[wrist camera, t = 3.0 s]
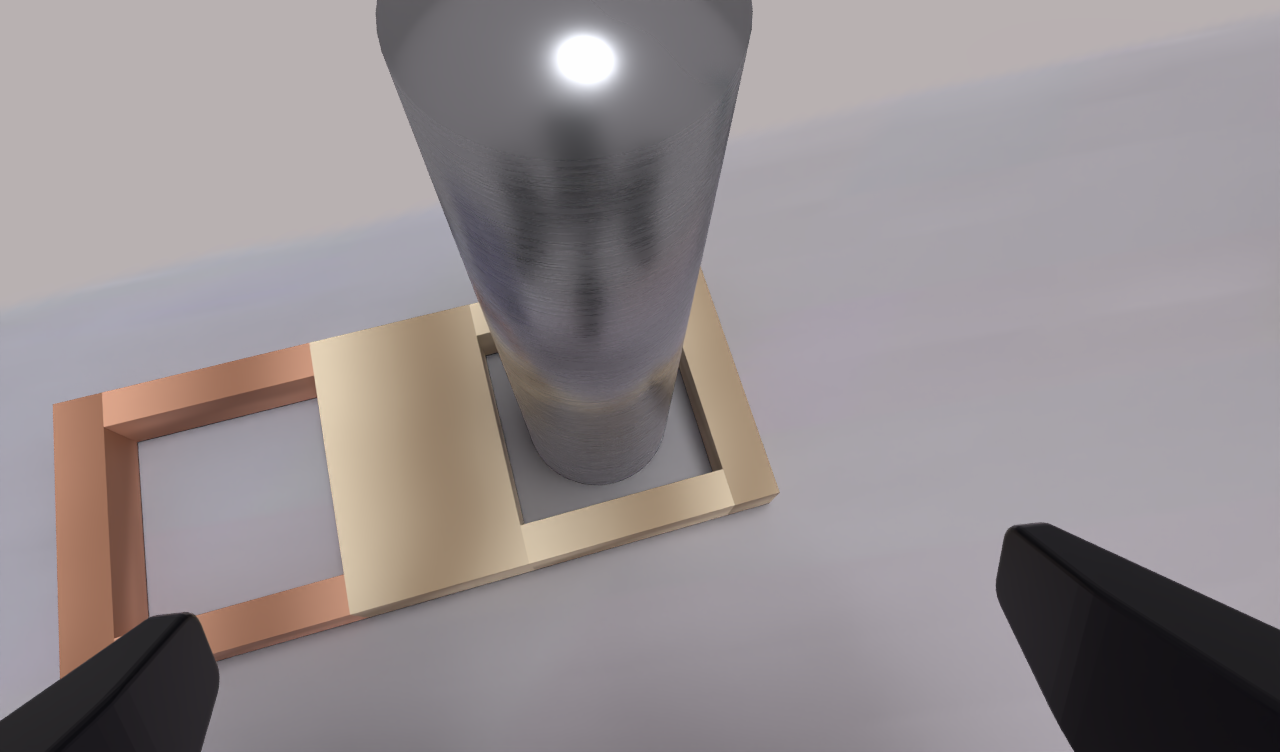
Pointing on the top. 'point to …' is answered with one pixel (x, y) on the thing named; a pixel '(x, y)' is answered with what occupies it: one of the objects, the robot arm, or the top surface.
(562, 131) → the steel pin
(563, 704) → the top surface
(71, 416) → the socket rail
